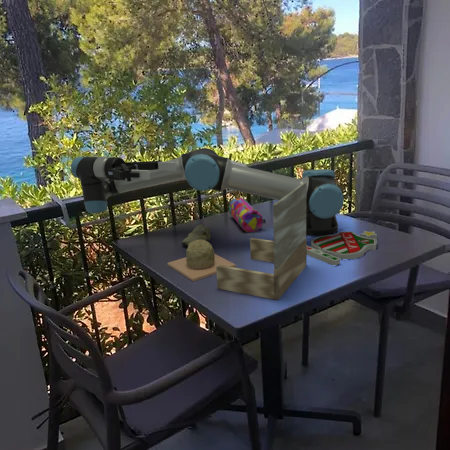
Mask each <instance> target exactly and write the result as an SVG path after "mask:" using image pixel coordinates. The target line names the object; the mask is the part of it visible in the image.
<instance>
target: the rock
mask: <svg viewBox="0 0 450 450" xmlns="http://www.w3.org/2000/svg"><path fill="white" fill-rule="evenodd" d="M211 235H212V234H211V229H210V227H207V226H206V225H205V224H197V225H196V226H195V227H194V228H193V229H192V231H191V232H190V233H188V234H187V237H185V238H184V239H182V241H181V245H182V246H185V247H188V244H189V243H191V242H192V241H195V240H199V239H201V240H205V241H207V242H210V241H211V239H212V236H211Z"/></svg>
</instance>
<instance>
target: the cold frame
mask: <svg viewBox="0 0 450 450" xmlns="http://www.w3.org/2000/svg"><path fill="white" fill-rule="evenodd" d="M306 187H307V182H304V183H302V184H301V185H299V186H298V187H297V188H295V189H294V190H293V191H291V192H290V193H289V194H287V195H286V196H284V197H283V198H282V199H280V200H277V201H276V202H275V203H273V205H272V207H273V209H272V210H273V211H272V213H273V214H272V215H273V216H272V219H273V240H270V239H269V240H268V239H261V238H255V237H251V238H250V239H249V242H250V243H249V244H250V245H249V246H250V260H255V261H261V262H268V263H273V272H272V273H269V272H263V271H257V270H251V269H245V268H239V267H228V266H222V265H217V266H216V271H217V274H216V286H217V289H218V290H224V291H228V292H233V293H238V294H244V295H250V296H255V297H259V298H264V299H269V300H275V301H279V300H280V299H281V297H282V296H283V295H284V294H285V293H286V292H287V290H288V289H289V288H290V287H291V285H292V284H293V283H294V282H295V281H296V279H297V278H298V277H299V276H300V274H301V273H302V272H303V270H305V269H306V267H307V256H308V255H307V246H308V245H307V244H308V243H307V235H306Z"/></svg>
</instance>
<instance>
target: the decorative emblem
mask: <svg viewBox="0 0 450 450" xmlns="http://www.w3.org/2000/svg"><path fill="white" fill-rule="evenodd" d="M377 240H378V234H376V231H367V230H363V233H361V232H360V235H359V234H356V233H355V232H354V231H353V230H352V231H349V230H348V231H347V230H346V231H337V232H336V233H334V234H331V235H326V236H315V238H313V239H311V240H310V246H308V245H307V256H308V255H309V256H308V257H311V258H313V257H314V258H313V259H315V258H316V259H315V260H318V259H319V261H320V260H321V262H323V261H324V262H323V263H325V262H326V264H327V263H329V264H328V265H330V264H331V265H330V266H332V265H338V264H340V265H341V260H340V259H352V260H356V259H355V258H357V259H359V257H360V258H361V256H362V257H363V256H364V255H365V254H364V253H367V252H368V251H376V250H377ZM338 266H339V265H338Z"/></svg>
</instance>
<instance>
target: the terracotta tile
mask: <svg viewBox="0 0 450 450" xmlns="http://www.w3.org/2000/svg"><path fill="white" fill-rule="evenodd" d="M214 255H215V260H214V264H213V265H212V266H211V267H209V268H205V269H191V268H189V267H187V261H186V259H187V257H182V258H179V259H175V260H173V261H169V262H167V263H166V265H167V266H168V267H170V268H171V269H173V270H174V271H176V272H177V273H179V274H181V275H182V276H184V277H186V278H187V279H189V280H190V281H192V282H196V281H199V280H202V279H204V278H205V279H206V278H207V277H211V276H213V275H217V271H216V266H217V265H222V266H228V267H234V268H237V265H236V264H235V263H233V262H232V261H229V260H228V259H226V258H224V257H222V256H220V255H218V254H216V253H214Z"/></svg>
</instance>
